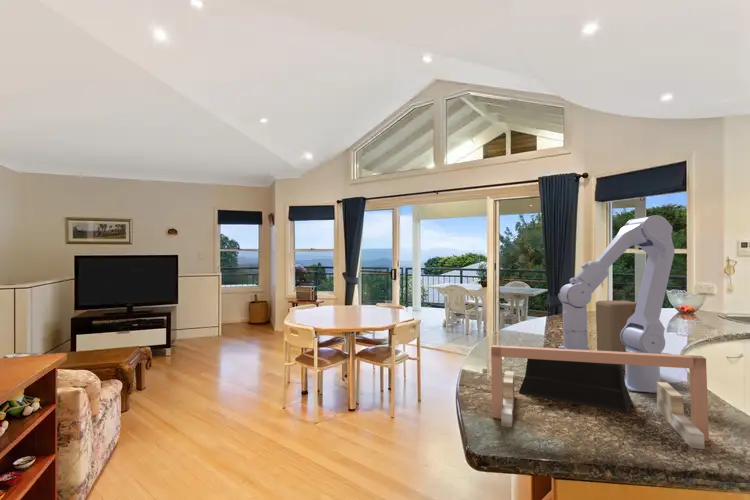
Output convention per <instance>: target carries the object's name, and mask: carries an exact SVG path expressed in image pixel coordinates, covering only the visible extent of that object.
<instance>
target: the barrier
mask: <svg viewBox="0 0 750 500" xmlns="http://www.w3.org/2000/svg"><path fill="white" fill-rule="evenodd" d="M526 359H527V358H526ZM624 373H625V372H624V371H623V368H622V364H610V363H593V362H577V361H560V360H544V359H527V360H526V365H525V375H524V377H523V380H522V383H521V385H520V388H519V390H518V393H519V394H521V395H527V396H532V397H538V398H543V399H548V400H551V401H552V400H553V401H559V402H565V403H569V404H576V405H581V406H587V407H592V408H596V409H602V410H607V411H614V412H618V413H624V414H627V413H628V411H629V410H630V407H631V406H632V404H633V400H632V397H631V396H630V393H629V390H628V388H627V387H626V385H625V379H626V378H625V374H624Z"/></svg>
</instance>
